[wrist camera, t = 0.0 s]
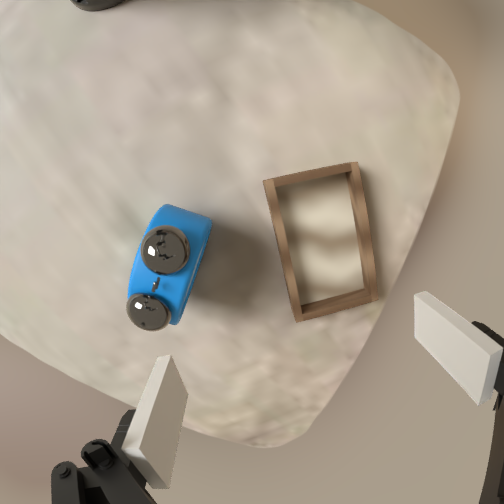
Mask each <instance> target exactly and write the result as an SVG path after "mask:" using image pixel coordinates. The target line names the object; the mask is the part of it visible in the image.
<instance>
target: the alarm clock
mask: <svg viewBox="0 0 504 504" xmlns="http://www.w3.org/2000/svg"><path fill="white" fill-rule="evenodd" d="M211 227H212V220H211V219H210V218H207V217H204V216H202V215H199V214H196V213H193V212H190V211H187V210H184V209H181V208H178V207H175V206H172V205H169V204H165V205H163V206H162V207H161V208H160V209H159V210H158V211H157V212H156V214H155V215H154V217H153V218H152V220H151V222H150V224H149V225H148V227H147V229H146V232H145V234H144V236H143V238H142V241H141V243H140V246H139V249H138V251H137V254H136V257H135V261H134V264H133V268H132V272H131V276H130V281H129V287H128V301H127V305H126V310H127V314H128V317H129V318H130V320H131V321H132V322H133V323H134V324H135V325H136V326H137V327H139V328H141V329H143V330H146V331H159V330H161V329H163V328H165V327H166V326H167V325H168V324H172V325H177V324H178V323H179V321H180V319H181V317H182V314H183V311H184V309H185V306H186V303H187V300H188V297H189V295H190V292H191V289H192V286H193V283H194V280H195V277H196V274H197V271H198V268H199V265H200V262H201V259H202V256H203V253H204V250H205V247H206V244H207V241H208V237H209V234H210V231H211Z"/></svg>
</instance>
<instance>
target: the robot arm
mask: <svg viewBox="0 0 504 504" xmlns="http://www.w3.org/2000/svg"><path fill="white" fill-rule="evenodd" d="M70 1H71V2H72V3H73V4H75V5H76V6H77V7H78V8H80V9H82V10H86V11H97V10H102V9H106V8H109V7H112V6H115V5H117V4H119V3H121V2H123V1H125V0H70ZM414 315H415V333H414V335H415V336H414V337H415V338H416V339H417V341H418V342H419V343H420V344H421V345H422V346H423V347H424V348H425V349H426V350H427V351H428V352H429V353H430V354H431V355H432V356H433V357H434V358H435V359H436V360H437V361H438V362H439V363H440V365H442V367H443V368H444V369H445V370H446V371H447V372H448V373H449V374H450V375H451V376H452V377H453V378H454V379H455V381H456V382H457V383H458V384H459V385H460V386H461V387H462V388H463V389H464V390H465V392H466V393H467V394H468V395H469V396H470V397H471V398H472V399H473V400H474V402H475V403H476V404H477V405H478V406H479V405H481V404H482V403H484V402H486V401H487V400H489V399H490V398H491V396H492V393H493V389H495V390H496V391H497V392H498V396H497V399H496V402H495V405H494V408H493V410H495V409H496V413H495V423H494V431H493V438H492V445H491V451H490V457H489V462H488V467H487V472H486V477H485V482H484V486H483V489H482V493H481V497H480V501H479V504H504V338H502V337H501V336H500V335H498V334H496V333H495V332H494V331H493V330H491V329H490V328H489V327H487V326H486V325H484V324H482V323H479V322H476V321H474V322H472V323H470V322H469V321H467V320H466V319H465V318H463V317H462V316H460V315H459V314H458V313H456V312H455V311H454V310H452V309H451V308H449V307H448V306H447V305H445V304H444V303H443V302H441V301H440V300H438V299H437V298H435V297H434V296H433V295H431V294H430V293H428V292H427V291H423V292H420V293H417V294H414ZM187 398H188V393H187V390H186V388H185V386H184V384H183V381H182V379H181V377H180V375H179V372H178V370H177V368H176V365H175V363H174V361H173V358H172V356H171V355H167V356H160V357H158V358H157V360H156V363H155V365H154V367H153V370H152V372H151V375H150V377H149V379H148V382H147V384H146V387H145V389H144V392H143V394H142V397H141V399H140V402H139V404H138V407H137V409H135V410H128V411H127V412H126V413H125V415H124V416H123V417H122V419H121V421H120V423H119V426H118V428H117V431H116V433H115V435H114V437H113V440H112V442H111V444H109V443H108V442H107V441H106V440H102V439H96V440H93V441H90V442H89V443H87V444H86V445H85V446H84V447H83V449H82V451H81V457H82V459H83V460H84V461H85V462H86V463H87V465H88V467H83V468H77V467H76V466H75V465H74V464H73V463H72V462H69V461H66V462H62V463H59V464H58V465H57V466H55V467H54V469H53V470H52V474H51V488H52V489H51V493H52V504H157V503H156V502H155V501H154V499H153V498H152V497H151V495H150V494H149V493H148V491H147V490H146V489H145V486H146V482H148V483H149V485H150V486H151V487H152V488H154V489H157V488H158V489H169V488H170V482H171V477H172V471H173V466H174V461H175V456H176V451H177V446H178V441H179V436H180V432H181V427H182V422H183V417H184V412H185V408H186V403H187Z"/></svg>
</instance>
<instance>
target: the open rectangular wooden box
mask: <svg viewBox="0 0 504 504" xmlns="http://www.w3.org/2000/svg"><path fill="white" fill-rule="evenodd" d="M263 184H264V188H265V193H266V197H267V201H268V205H269V210H270V214H271V218H272V222H273V227H274V231H275V235H276V240H277V244H278V249H279V253H280V257H281V262H282V266H283V271H284V275H285V280H286V285H287V289H288V294H289V298H290V303H291V308H292V312H293V315H294V317H295V320H296V323H297V322H301V321H305V320H309V319H312V318H316V317H320V316H324V315H327V314H331V313H335V312H338V311H342V310H345V309H349V308H352V307H356V306H359V305H362V304H366V303H369V302H372V301H376V300H378V291H377V281H376V271H375V263H374V255H373V247H372V240H371V233H370V226H369V220H368V214H367V208H366V202H365V196H364V191H363V186H362V180H361V175H360V170H359V166H358V162H350V163H343V164H338V165H333V166H328V167H323V168H318V169H313V170H308V171H303V172H299V173H294V174H289V175H285V176H280V177H276V178H272V179H267V180H263Z"/></svg>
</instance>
